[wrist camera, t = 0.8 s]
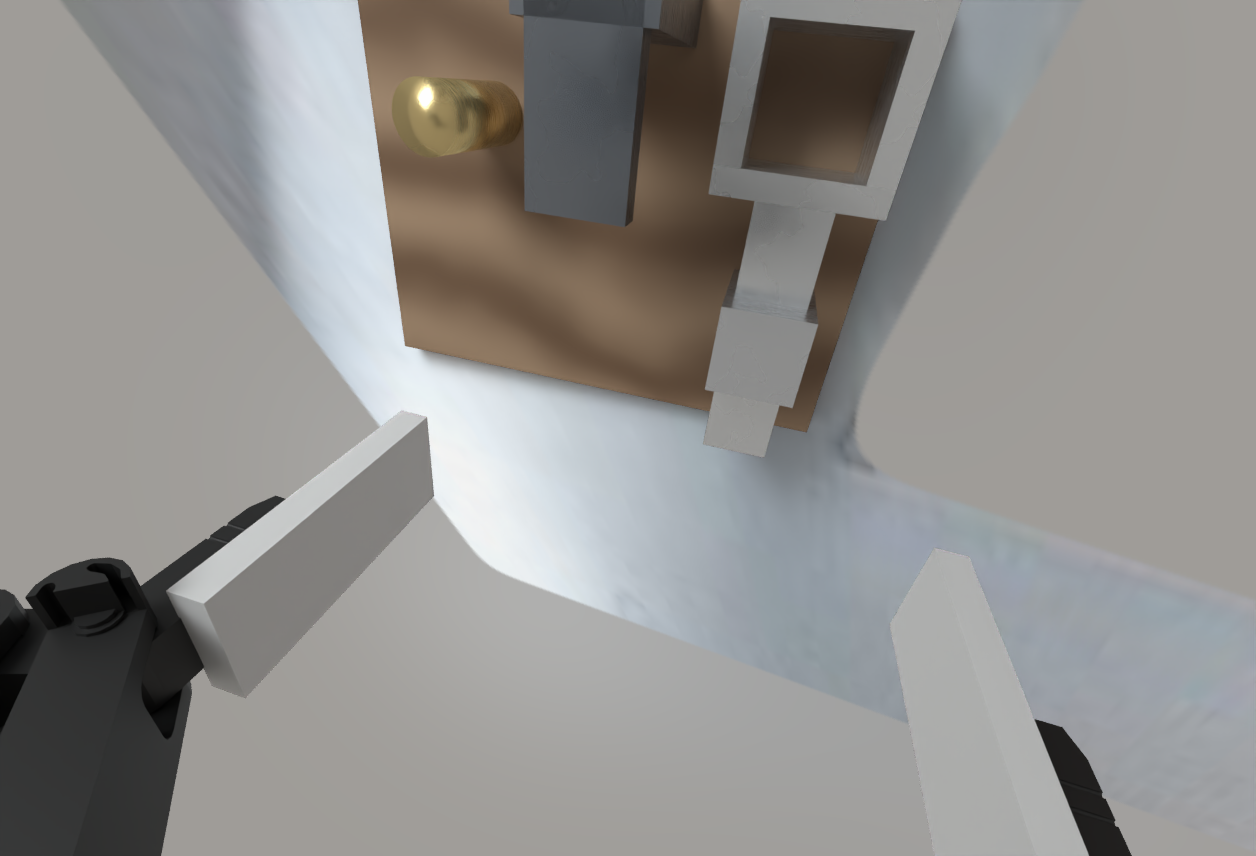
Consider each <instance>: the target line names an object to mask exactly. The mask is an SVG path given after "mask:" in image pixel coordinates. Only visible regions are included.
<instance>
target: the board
mask: <svg viewBox="0 0 1256 856" xmlns="http://www.w3.org/2000/svg"><path fill="white" fill-rule="evenodd" d="M740 3H741V0H703V5H702V12H701V19H700V27H699V34H698V41H697V48H686V47H677V46H668V45H658V44H650V52H649V62H648V72H647V82H646V92H645V102H644V112H643V122H642V132H641V142H640V152H639V162H638V172H637V183H636V193H635V203H634V213H633V221H632V222H631V223H630V224H628V225H627V226H626V227H620V226H614V225H608V224H602V223H596V222H590V221H584V220H578V219H572V218H565V217H559V216H553V215H547V214H541V213H535V212H529V211H525V204H524V18H522V17H518V16H515V15H511V14H509V0H358V5H359V12H360V20H361V27H362V34H363V42H364V49H365V56H366V64H367V71H368V78H369V85H370V93H371V100H372V107H373V115H374V122H375V129H376V136H377V144H378V151H379V158H380V166H381V173H382V180H383V188H384V195H385V202H386V209H387V217H388V224H389V231H390V239H391V246H392V253H393V260H394V268H395V275H396V282H397V290H398V297H399V304H400V312H401V319H402V326H403V333H404V341H405V346H408V347H413V348H418V349H422V350H427V351H432V352H436V353H441V354H445V355H450V356H455V357H459V358H464V359H469V360H473V361H478V362H483V363H487V364H492V365H496V366H501V367H506V368H510V369H515V370H520V371H524V372H529V373H534V374H538V375H543V376H548V377H552V378H557V379H561V380H566V381H571V382H575V383H580V384H585V385H589V386H594V387H599V388H603V389H608V390H613V391H617V392H622V393H626V394H631V395H636V396H640V397H645V398H650V399H654V400H659V401H664V402H668V403H673V404H678V405H682V406H687V407H691V408H696V409H701V410H705V411H710V408H711V404H712V399H713V394H714V391H709V390H705V386H706V381H707V376H708V371H709V366H710V361H711V356H712V351H713V346H714V342H715V337H716V332H717V327H718V322H719V317H720V312H721V307H722V304H723V301H724V298H725V295H726V292H727V289H728V286H729V283H730V280H731V277H732V274H733V271H734V269H736V270H740V268H741V263H742V258H743V254H744V249H745V244H746V240H747V235H748V230H749V226H750V221H751V216H752V211H753V207H754V202H755V201H751V200H744V199H737V198H731V197H724V196H717V195H711V194H708V193H709V187H710V181H711V175H712V169H713V163H714V157H715V151H716V145H717V139H718V134H719V128H720V122H721V116H722V110H723V104H724V98H725V92H726V86H727V80H728V74H729V68H730V62H731V56H732V50H733V44H734V38H735V32H736V26H737V20H738V15H739V9H740ZM893 45H894V42H889V41H879V40H869V39H859V38H849V37H839V36H829V35H819V34H809V33H798V32H788V31H778V30H774V31H773V36H772V41H771V46H770V51H769V56H768V61H767V66H766V71H765V76H764V81H763V86H762V91H761V96H760V101H759V106H758V111H757V116H756V121H755V126H754V131H753V136H752V141H751V146H750V151H749V157H748V158H751V159H758V160H765V161H772V162H780V163H787V164H794V165H801V166H808V167H816V168H823V169H830V170H837V171H845V172H852V173H855V171H856V168H857V165H858V161H859V158H860V155H861V151H862V148H863V145H864V141H865V138H866V135H867V131H868V128H869V125H870V121H871V118H872V115H873V111H874V108H875V105H876V101H877V98H878V95H879V91H880V88H881V85H882V81H883V78H884V75H885V71H886V68H887V65H888V61H889V58H890V55H891V51H892V48H893ZM414 76H419V77H437V78H454V79H472V80H489V81H499V82H501V83H503V84H505V85H507V86H508V87H509V88H510V89H511V90H512V91H513V92H514V93H515V95H516V96H517V98H518V100H519V102H520V105H521V109H522V116H523V120H522V127H521V130H520V133H519V135H518V136H517V138H516V139H515V140H514V141H513V142H511V143H510V144H508V145H505V146H499V147H493V148H487V149H481V150H475V151H469V152H463V153H457V154H451V155H445V156H439V157H432V158H430V157H424V156H421V155H418V154H417V153H415V152H414V151H412V150H411V149H410V148H409V147H408V146H407V145H406V144H405V143H404V142H403V140H402V139H401V138H400V136H399V134H398V132H397V130H396V127H395V125H394V121H393V116H392V99H393V95H394V93H395V90H396V88H397V87H398V85H399V84H400V83H401V82H402V81H404V80H405V79H407V78H410V77H414ZM877 222H878V220H877V219H870V218H864V217H857V216H850V215H844V214H837V213H836V214H835V218H834V221H833V225H832V228H831V232H830V235H829V238H828V242H827V245H826V249H825V252H824V255H823V259H822V262H821V266H820V269H819V272H818V276H817V279H816V283H815V286H814V292H815V300H816V309H817V317H818V327H817V330H816V334H815V337H814V340H813V343H812V347H811V350H810V353H809V356H808V360H807V363H806V366H805V369H804V372H803V376H802V379H801V382H800V385H799V389H798V392H797V395H796V398H795V402H794V405H793V408H790V407H785V406H781V405H779V409H778V412H777V415H776V419H775V422H774V425H775V426H780V427H784V428H789V429H794V430H798V431H803V432H807V430H808V427H809V424H810V421H811V418H812V415H813V412H814V409H815V406H816V403H817V400H818V397H819V394H820V391H821V388H822V385H823V382H824V379H825V376H826V373H827V370H828V367H829V364H830V361H831V358H832V355H833V352H834V349H835V347H836V344H837V341H838V338H839V335H840V332H841V329H842V326H843V323H844V320H845V317H846V314H847V311H848V308H849V305H850V302H851V299H852V296H853V293H854V290H855V287H856V284H857V281H858V278H859V275H860V272H861V269H862V266H863V263H864V260H865V257H866V254H867V251H868V248H869V245H870V242H871V239H872V236H873V233H874V231H875V228H876V225H877Z"/></svg>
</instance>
